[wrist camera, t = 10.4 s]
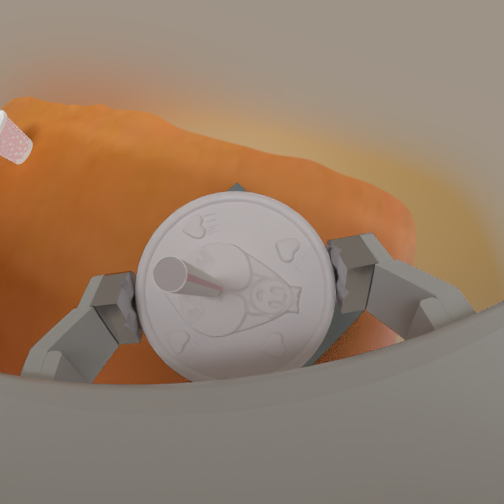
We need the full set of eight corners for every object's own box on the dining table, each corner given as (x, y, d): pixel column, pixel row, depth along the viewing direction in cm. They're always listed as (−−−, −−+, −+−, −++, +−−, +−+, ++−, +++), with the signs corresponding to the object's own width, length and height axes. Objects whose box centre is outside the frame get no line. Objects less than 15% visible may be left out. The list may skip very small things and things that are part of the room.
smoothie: (203, 240, 18) (92, 104, 5) (301, 253, 18) (406, 130, 4) (189, 337, 17) (36, 408, 4) (288, 351, 17) (371, 476, 3)
